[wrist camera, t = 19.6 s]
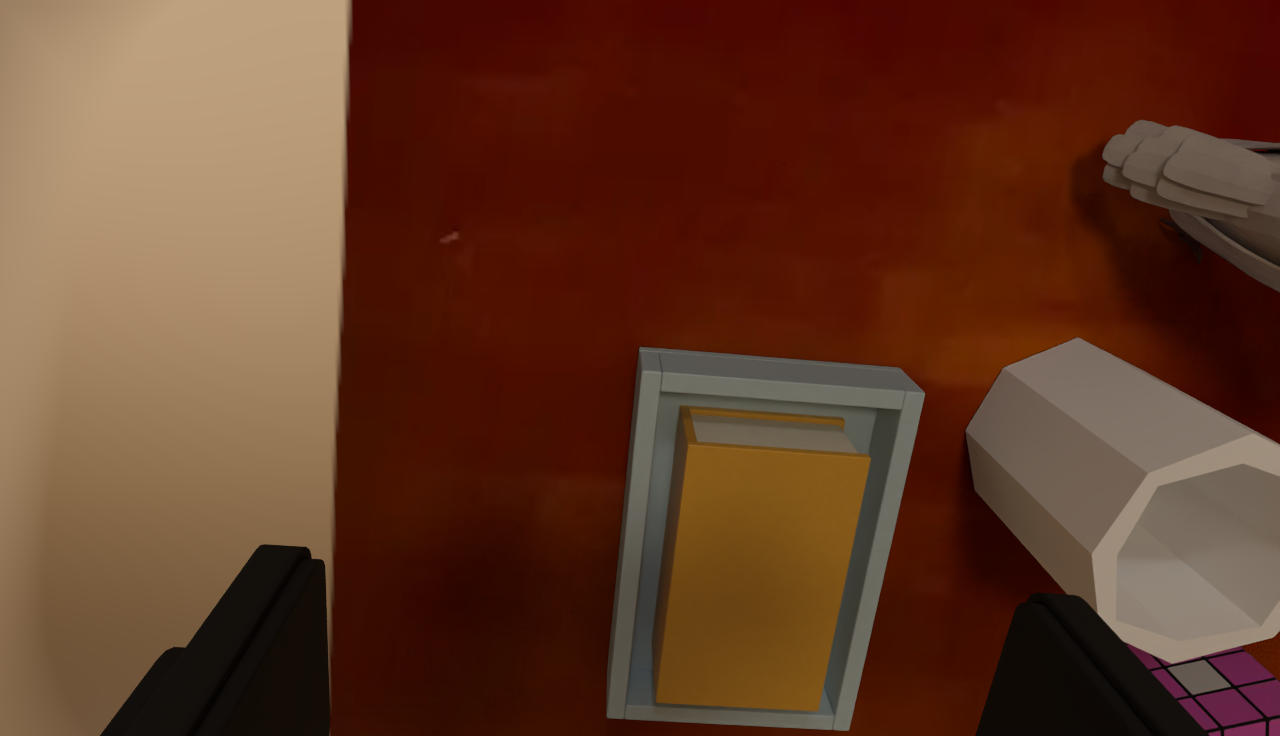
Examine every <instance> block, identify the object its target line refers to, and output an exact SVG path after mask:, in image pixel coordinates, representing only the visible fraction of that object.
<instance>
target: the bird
mask: <svg viewBox="0 0 1280 736" xmlns="http://www.w3.org/2000/svg"><path fill="white" fill-rule="evenodd" d="M1248 149H1264V150H1268V151H1250V150H1248ZM1102 156H1103V159H1104V160H1106V161H1107V162H1108V163H1107V165H1106V167H1105V168H1104V173H1103V179H1104V181H1105V182H1107V183H1109V184H1111V185H1113V186H1116V187H1120V188H1123V189H1126V190H1130V194H1131V196H1132V197H1133V198H1136V199H1138V200H1140V201H1143V202H1146V203H1150V204H1153V205H1157V206H1160V207H1164V208H1167V209H1169V212H1170V215H1171V217H1172V219H1173V220H1174V221H1175V222H1174V221H1170V220H1166V219H1159V220H1160V221H1162V222H1163V223H1164V224H1166V225H1168V226H1170V227H1171V228H1173V229H1175V230H1176V231H1178V232H1179V233H1180V235H1179V237H1180V239H1181V240H1182V241H1183V242H1185V243H1187V244H1188V245H1189V246H1190V247H1191V249H1192V251H1193V252H1194V254H1195V256H1196V258H1197V261H1198V264H1200V262H1201V260H1202V251H1201V248H1200V245H1199V243H1198V242H1200V243H1201V244H1203V245H1205V246H1206V247H1208V248H1209V249H1211V250H1212V251H1214V252H1215V253H1217V254H1218V255H1220V256H1221V257H1223V258H1224V259H1226V260H1227V261H1229V262H1230V263H1232V264H1233V265H1235V266H1236V267H1238V268H1239V269H1241V270H1242V271H1243V272H1245V273H1246V274H1248V275H1250V276H1251V277H1253V278H1254V279H1256V280H1258V281H1260V282H1261V283H1263V284H1265V285H1267V286H1269V287H1271V288H1273V289H1275V290H1276V291H1278V292H1280V143H1267V142H1257V141H1247V140H1237V139H1218V138H1215V137H1213V136H1210V135H1207V134H1204V133H1201V132H1198V131H1195V130H1192V129H1189V128H1185V127H1180V126H1171V127H1166V126H1163V125H1160V124H1157V123H1154V122H1150V121H1145V120H1140V121H1136V122H1135V123H1134V124H1133V125H1132V126H1131V127H1129V128H1128V130H1127V131H1126V133H1125V135H1119V134H1118V135H1116V136H1114V137H1112V138H1111V140H1110V141H1109V142H1108V144H1107V145H1106V146H1105V149H1104V151H1103V154H1102Z"/></svg>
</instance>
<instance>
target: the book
mask: <svg viewBox="0 0 1280 736" xmlns="http://www.w3.org/2000/svg"><path fill="white" fill-rule="evenodd" d="M844 424H845V420H844V419H843V418H842V417H831V416H818V415H805V414H791V413H778V412H765V411H752V410H739V409H726V408H712V407H699V406H686V405H680V407H679V415H678V423H677V432H676V440H675V448H674V457H673V465H672V474H671V482H670V490H669V499H668V507H667V516H666V524H665V532H664V541H663V549H662V557H661V566H660V574H659V583H658V591H657V599H656V608H655V616H654V624H653V633H652V641H651V642H652V656H653V670H654V684H655V698H656V703H667V704H686V705H705V706H724V707H743V708H762V709H780V710H799V711H818V710H819V705H820V701H821V696H822V691H823V686H824V681H825V677H826V672H827V667H828V662H829V657H830V653H831V648H832V643H833V638H834V634H835V629H836V624H837V619H838V614H839V610H840V605H841V600H842V595H843V590H844V586H845V581H846V576H847V571H848V566H849V562H850V557H851V552H852V547H853V542H854V538H855V533H856V528H857V523H858V518H859V514H860V509H861V504H862V499H863V494H864V490H865V485H866V480H867V475H868V470H869V466H870V461H871V458H870V456H869V455H868V454H860V453H858V452H857V451H856V449H855V448H854V446H853V445H852V443H851V442H850V440H849V439H848V437H847V436H846V434H845V433H844V431H843V429H844Z"/></svg>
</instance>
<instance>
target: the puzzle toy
mask: <svg viewBox="0 0 1280 736" xmlns="http://www.w3.org/2000/svg"><path fill="white" fill-rule="evenodd" d="M1127 646H1128V647H1129V648H1130V650H1131V651H1132V652H1133V653H1134V654H1135V655H1136V656H1137V657H1138V658H1139V659H1140V660H1141V661H1142V663H1143V664H1144V665H1145V666H1146V667H1147V668H1148V669H1149V670H1150V671H1151V672H1152V673H1153V674H1154V676H1155V677H1156V678H1157V679H1158V680H1159V681H1160V682H1161V683H1162V684H1163V685H1164V686H1165V687H1166V689H1167V690H1168V691H1169V692H1170V693H1171V694H1172V695H1173V696H1174V697H1175V698H1176V699H1177V700H1178V702H1179V703H1180V704H1181V705H1182V706H1183V707H1184V708H1185V709H1186V710H1187V711H1188V712H1189V713H1190V715H1191V716H1192V717H1193V718H1194V719H1195V720H1196V721H1197V722H1198V723H1199V724H1200V725H1201V727H1202V728H1203V729H1204V730H1205V731H1206V732H1207V733H1208V734H1209V735H1210V736H1280V682H1279V681H1278V680H1277V679H1276V677H1274V676H1273V675H1272V674H1271V673H1270V672H1269V671H1268V670H1267V669H1265V668H1264V667H1263V666H1262V665H1261V664H1260V663H1259V662H1258V661H1257V660H1255V659H1254V658H1253V657H1252V656H1251V655H1250V654H1249V653H1247V652H1245V650H1244V649H1243V648H1242V647H1241V646H1238V647H1235V648H1231V649H1227V650H1223V651H1219V652H1215V653H1212V654H1208V655H1204V656H1200V657H1196V658H1192V659H1189V660H1185V661H1181V662H1177V663H1173V664H1171V663H1169V662H1167V661H1165V660H1163V659H1161V658H1158V657H1156V656H1154V655H1152V654H1150V653H1147V652H1145V651H1143V650H1141V649H1139V648H1137V647H1134V646H1132V645H1130V644H1128V645H1127Z"/></svg>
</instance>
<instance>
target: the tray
mask: <svg viewBox="0 0 1280 736" xmlns="http://www.w3.org/2000/svg"><path fill="white" fill-rule="evenodd" d="M924 397H925V392H924V391H923V390H922V389H921V388H920V387H919V386H918V385H917V384H916V383H915V382H913V381H912V380H911V379H910V378H909V377H908V376H907V375H906V374H905V373H904V372H903V371H902V370H901V369H900V368H897V367H885V366H872V365H860V364H847V363H835V362H822V361H810V360H798V359H785V358H773V357H760V356H748V355H735V354H723V353H711V352H698V351H686V350H673V349H661V348H648V347H639V354H638V364H637V374H636V385H635V395H634V405H633V415H632V425H631V435H630V445H629V455H628V465H627V475H626V485H625V495H624V506H623V516H622V526H621V536H620V546H619V556H618V566H617V576H616V586H615V596H614V606H613V616H612V626H611V637H610V647H609V657H608V667H607V718H614V719H623V718H625V719H630V720H650V721H669V722H688V723H708V724H727V725H747V726H766V727H785V728H805V729H824V730H831V729H833V730H843V731H848V730H849V728H850V723H851V719H852V715H853V710H854V706H855V701H856V697H857V692H858V688H859V684H860V679H861V675H862V670H863V666H864V662H865V657H866V653H867V648H868V644H869V640H870V635H871V631H872V626H873V622H874V617H875V613H876V609H877V604H878V600H879V595H880V591H881V587H882V582H883V578H884V573H885V569H886V564H887V560H888V556H889V551H890V547H891V542H892V538H893V534H894V529H895V525H896V520H897V516H898V512H899V507H900V503H901V498H902V494H903V489H904V485H905V481H906V476H907V472H908V467H909V463H910V459H911V454H912V450H913V445H914V441H915V436H916V432H917V428H918V423H919V419H920V414H921V410H922V406H923V401H924ZM680 405H686V406H699V407H712V408H726V409H739V410H752V411H765V412H778V413H791V414H805V415H818V416H831V417H842V418H843V419H844V420H845V424H844V429H843V431H844V433H845V434H846V436H847V437H848V439H849V440H850V442H851V443H852V445H853V446H854V448H855V449H856V451H857V452H858V453H860V454H868V455H869V456H870V458H871V461H870V466H869V470H868V475H867V480H866V485H865V490H864V494H863V499H862V504H861V509H860V514H859V518H858V523H857V528H856V533H855V538H854V542H853V547H852V552H851V557H850V562H849V566H848V571H847V576H846V581H845V586H844V590H843V595H842V600H841V605H840V610H839V614H838V619H837V624H836V629H835V634H834V638H833V643H832V648H831V653H830V657H829V662H828V667H827V672H826V677H825V681H824V686H823V691H822V696H821V701H820V705H819V710H818V711H799V710H780V709H762V708H743V707H724V706H705V705H686V704H667V703H656V698H655V684H654V670H653V656H652V642H651V641H652V633H653V624H654V616H655V608H656V599H657V591H658V583H659V574H660V566H661V557H662V549H663V541H664V532H665V524H666V516H667V507H668V499H669V490H670V482H671V474H672V465H673V457H674V448H675V440H676V432H677V423H678V415H679V407H680Z"/></svg>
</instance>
